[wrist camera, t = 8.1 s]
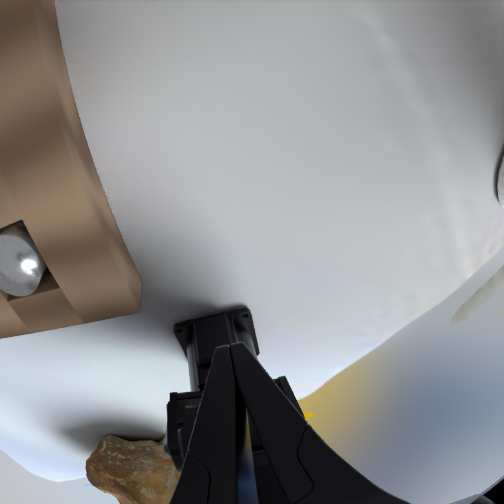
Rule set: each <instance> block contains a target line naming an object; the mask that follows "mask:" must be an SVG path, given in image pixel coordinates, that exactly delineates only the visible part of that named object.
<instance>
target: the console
mask: <svg viewBox="0 0 504 504" xmlns="http://www.w3.org/2000/svg"><path fill="white" fill-rule="evenodd" d="M19 220H23V222H24V224H25V226H26V228H27V230H28V232H29V234H30V236H31V237H32V239H33V241H34V243H35V245H36V247H37V249H38V251H39V252H40V254H41V256H42V258H43V260H44V261H45V263H46V265H47V266H48V267H46V269H45V271H44V273H43V276H42V278H41V280H40V282H39V285H38V287H37V289H36V290H35V291H34V292H33V293H32V294H30V295H27V296H14V295H11V294H9V293H6V292H5V291H3V290H1V289H0V339H1V338H7V337H13V336H19V335H25V334H31V333H36V332H42V331H47V330H53V329H58V328H63V327H69V326H74V325H79V324H84V323H89V322H94V321H99V320H104V319H109V318H114V317H119V316H124V315H129V314H134V313H138V312H140V302H141V291H142V281H141V279H140V276H139V274H138V272H137V270H136V268H135V266H134V263H133V261H132V259H131V257H130V254H129V252H128V250H127V248H126V245H125V243H124V241H123V238H122V236H121V233H120V231H119V229H118V226H117V224H116V221H115V219H114V216H113V214H112V211H111V209H110V206H109V204H108V201H107V198H106V196H105V193H104V190H103V188H102V185H101V182H100V179H99V177H98V174H97V171H96V168H95V165H94V162H93V159H92V156H91V153H90V150H89V147H88V144H87V141H86V138H85V135H84V131H83V128H82V125H81V121H80V118H79V114H78V111H77V107H76V104H75V100H74V96H73V92H72V89H71V85H70V81H69V77H68V72H67V68H66V64H65V59H64V55H63V50H62V45H61V40H60V34H59V29H58V23H57V17H56V11H55V4H54V0H0V228H2V227H5V226H7V225H9V224H12V223H14V222H17V221H19Z"/></svg>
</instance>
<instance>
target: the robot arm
mask: <svg viewBox="0 0 504 504" xmlns="http://www.w3.org/2000/svg"><path fill="white" fill-rule="evenodd" d="M243 314H245V315H243ZM173 330H174V333H175V335H176V337H177V339H178V341H179V343H180V345H181V347H182V349H183V351H184V353H185V355H186V356H187V358H188V366H189V376H190V386H191V392H183V393H177V392H172V393H170V402H168V404H167V430H166V435H165V441H164V451H165V453H166V454H168V455H169V456H170V457H171V458H172V460H173V462H174V465H175V467H176V469H177V471H178V472H179V473H181V474H180V477H179V480H178V482H177V485H176V488H175V490H174V493H173V495H172V498H171V500H170V502H169V504H411V503H409V502H407V501H404V500H402V499H400V498H398V497H396V496H394V495H392V494H390V493H388V492H386V491H384V490H383V489H381V488H379V487H378V486H377V485H375V484H373V483H372V482H371V481H370V480H368V479H367V478H366V477H364V476H363V475H362V474H361V473H359V472H358V471H357V470H356V469H354V468H353V467H352V466H351V465H350V464H348V463H347V462H346V461H345V460H344V459H342V458H341V457H340V456H339V455H338V454H337V453H336V452H335V451H334V450H333V449H331V448H330V447H329V446H328V445H327V444H326V443H325V442H324V440H323V439H322V438H321V437H320V436H319V435H318V434H317V433H316V432H315V430H314V429H313V428H312V427H311V426H310V425H309V424H308V423H307V421H306V420H305V417H304V415H303V412H302V410H301V408H300V406H299V404H298V402H297V400H296V398H295V396H294V393H293V391H292V389H291V387H290V385H289V383H288V381H287V379H286V377H285V376H281V377H278V378H277V379H272V378H271V377H270V376H269V374H268V373H267V372H266V370H265V369H264V368H263V367H262V365H261V364H260V363H259V361H258V359H257V355H259V353H260V352H259V347H258V343H257V338H256V334H255V329H254V324H253V320H252V315H251V311H250V309H248V308H243V309H239V310H234V311H230V312H226V313H222V314H217V315H213V316H209V317H204V318H200V319H195V320H191V321H186V322H182V323H177V324H175V325H174V327H173ZM451 504H504V476H503V477H502V478H500V479H499V480H498V481H497V482H495V483H494V484H493V485H492V486H490V487H489V488H488V489H486V490H485V491H484V492H482V493H481V494H478V495H473V496H471V497H468V498H466V499H463V500H460V501H457V502H454V503H451Z"/></svg>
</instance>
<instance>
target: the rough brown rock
mask: <svg viewBox="0 0 504 504" xmlns="http://www.w3.org/2000/svg"><path fill="white" fill-rule="evenodd" d="M164 441H165V438H164V439H163V440H162V441H160V442H157V443H156V442H155V441H152V440H147V441H142V440H141V441H136V442H130V441H126V440H123V439H122V438H119V437H116V436H112V435H108V436H106V437H104V438H103V439H102V440H101V441H100V442H99V445H98V447H97V449H96V450H95V451H94V452H93V453H92V454H91V456H90V457H89V458H88V459H87V460H86V472H87V474H86V476H87V478H88V480H89V481H90V483H91V484H92V485H93V486H94V487H96V488H98V489H99V490H101V491H103V492H105V493H109V494H112V495H113V496H115V497H116V498H117V499H118V501H119V503H120V504H169V502H170V500H171V498H172V495H173V493H174V490H175V488H176V485H177V482H178V480H179V477H180V474H181V473H179V472H178V471H177V469H176V467H175V465H174V462H173V460H172V458H171V457H170V456H169V455H168V454H166V453H165V451H164Z"/></svg>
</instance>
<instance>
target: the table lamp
mask: <svg viewBox="0 0 504 504" xmlns="http://www.w3.org/2000/svg"><path fill="white" fill-rule="evenodd" d="M497 189H498V197H499V202H500V205H501V206H502V208H503V209H504V155H503V158H502V162H501V165H500V168H499V173H498V182H497Z"/></svg>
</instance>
